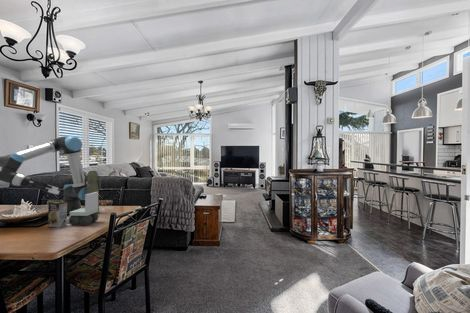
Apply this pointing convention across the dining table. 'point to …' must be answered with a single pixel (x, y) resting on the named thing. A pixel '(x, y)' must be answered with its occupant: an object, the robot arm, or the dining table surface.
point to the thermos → (93, 183)
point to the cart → (86, 211)
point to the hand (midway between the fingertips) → (58, 191)
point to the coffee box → (57, 214)
